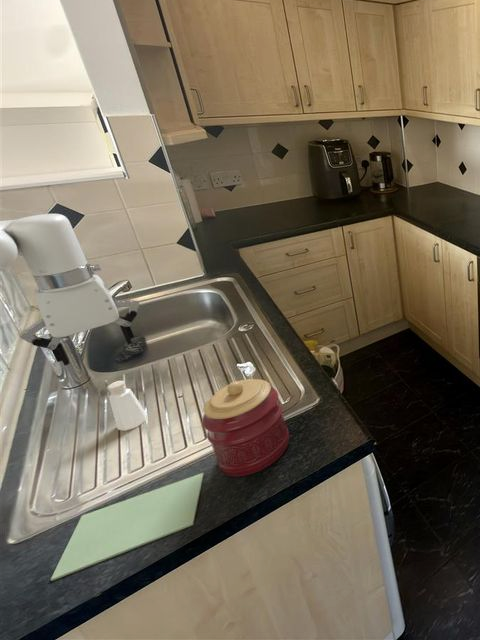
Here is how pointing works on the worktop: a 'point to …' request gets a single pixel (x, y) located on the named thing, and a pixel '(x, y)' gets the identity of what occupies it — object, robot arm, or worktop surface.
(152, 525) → the mat
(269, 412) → the kitchen canister
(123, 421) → the pepper shaker
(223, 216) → the worktop surface
